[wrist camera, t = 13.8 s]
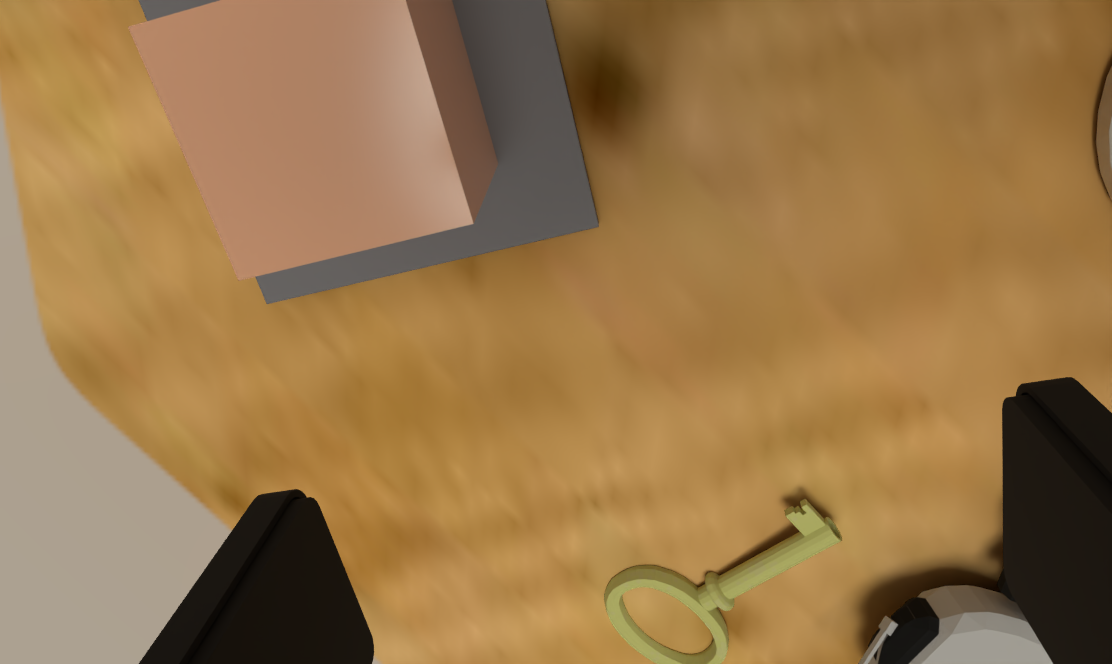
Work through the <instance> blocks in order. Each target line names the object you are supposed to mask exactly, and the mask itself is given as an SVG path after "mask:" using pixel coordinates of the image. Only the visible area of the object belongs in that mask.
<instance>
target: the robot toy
mask: <svg viewBox="0 0 1112 664" xmlns="http://www.w3.org/2000/svg"><path fill="white" fill-rule="evenodd" d="M997 585H998V587H999V589H1000V591H1001V593H1003V594H1001V593H999V592H995V591H992V590H988V589H984V588H981V587H976V586H969V585H959V586H943V587H939V588H935V589H931V590H927V591H923V592H921V594H920V595H919V596H918V597H915V598H912V599H909V600H908V601H907V602H906V603H905V604H904V605H903V606H902V607H901V608H899V609H898V610H897V611H896V612H895V613H894V614H893V615H892V616H891V617H890V618H889V617H887V616H886V615H885V617H884V618H883V620H882V621H881V623H880V624H879V626H878V627H879V629H878V630H877V632H876V633H875V634H874V635H873V637H872V639H871V641H870V643H869V645H868V647H869V648H868V649H867V651H866V652H865V654H864V656H863V657H862V659H861V660H860V662H859V663H858V664H1053V663H1052V661H1051V659H1050V658H1049V656H1048V654H1047V653H1046V651H1045V650H1044V648H1043V646H1042V645H1041V643H1040V641H1039V640H1038V638H1037V636H1036V635H1035V633H1034V631H1033V630H1032V628H1031V626H1030V625H1029V623H1028V621H1027V620H1026V618H1025V616H1024V615H1023V613H1022V611H1021V610H1020V608H1019V606H1018V605H1017V603H1016V601H1015V600H1014V598H1013V596H1012V594H1011V592H1010V590H1009V587H1008V585H1007V581H1006V578H1005V573H1004V568H1003V571H1002V573H1001V576H1000V578H999V580H998V583H997Z"/></svg>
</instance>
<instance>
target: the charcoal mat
mask: <svg viewBox="0 0 1112 664" xmlns="http://www.w3.org/2000/svg"><path fill="white" fill-rule="evenodd" d="M216 1H219V0H139V2H140V5H141V7H142V9H143V12H144V14H145V17H146V19H147V21H150V20H154V19H157V18H160V17H164V16H167V15H171V14H174V13H178V12H181V11H185V10H188V9H192V8H195V7H199V6H202V5H205V4H209V3H212V2H216ZM452 2H453V5H454V9H455V13H456V16H457V20H458V23H459V27H460V30H461V34H462V37H463V41H464V44H465V48H466V51H467V55H468V58H469V62H470V66H471V69H472V73H473V76H474V80H475V83H476V87H477V90H478V94H479V97H480V101H481V104H482V108H483V111H484V115H485V119H486V122H487V126H488V129H489V133H490V136H491V140H492V143H493V147H494V150H495V154H496V157H497V161H498V166H497V168H496V170H495V173H494V175H493V178H492V180H491V183H490V185H489V188H488V190H487V192H486V195H485V197H484V200H483V202H482V205H481V207H480V209H479V212H478V214H477V217H476V219H475V222H474V224H471V225H467V226H463V227H458V228H454V229H450V230H446V231H442V232H438V233H434V234H430V235H425V236H421V237H417V238H413V239H409V240H405V241H401V242H396V243H392V244H388V245H384V246H380V247H376V248H372V249H368V250H363V251H359V252H355V253H351V254H347V255H343V256H339V257H335V258H330V259H326V260H322V261H318V262H314V263H310V264H306V265H302V266H297V267H293V268H289V269H285V270H281V271H277V272H273V273H269V274H264V275H260V276H256V279H257V282H258V284H259V287H260V289H261V291H262V294H263V296H264V298H265V301H266V303H267V304H269V303H274V302H278V301H282V300H287V299H291V298H295V297H299V296H304V295H308V294H312V293H317V292H321V291H325V290H330V289H334V288H338V287H342V286H347V285H351V284H355V283H360V282H364V281H368V280H372V279H377V278H381V277H385V276H390V275H394V274H398V273H402V272H407V271H411V270H415V269H420V268H424V267H428V266H432V265H437V264H441V263H445V262H450V261H454V260H458V259H463V258H467V257H471V256H475V255H480V254H484V253H488V252H493V251H497V250H501V249H505V248H510V247H514V246H518V245H523V244H527V243H531V242H535V241H540V240H544V239H548V238H553V237H557V236H561V235H565V234H570V233H574V232H578V231H583V230H587V229H591V228H596V227H599V223H598V218H597V214H596V210H595V206H594V201H593V197H592V193H591V189H590V185H589V180H588V176H587V172H586V168H585V163H584V159H583V155H582V151H581V146H580V142H579V138H578V134H577V129H576V125H575V121H574V117H573V113H572V108H571V104H570V100H569V96H568V91H567V87H566V83H565V79H564V74H563V70H562V66H561V62H560V58H559V53H558V49H557V45H556V41H555V36H554V32H553V28H552V24H551V19H550V15H549V11H548V7H547V3H546V0H452Z"/></svg>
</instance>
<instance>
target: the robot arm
mask: <svg viewBox="0 0 1112 664" xmlns="http://www.w3.org/2000/svg"><path fill="white" fill-rule="evenodd" d="M1096 146H1097V153H1098V160H1099V167H1100V173H1101V176H1102V178H1103V181H1104V183H1105V186H1106V188H1107V191H1108V193H1109V196H1110V199H1111V200H1112V67H1111V69H1110V71H1109V73H1108V76H1107V78H1106V82H1105V86H1104V90H1103V94H1102V98H1101V102H1100V106H1099V110H1098V121H1097V136H1096ZM1002 439H1003V565H1004V573H1005V578H1006V581H1007V585H1008V587H1009V590H1010V592H1011V594H1012V596H1013V598H1014V600H1015V601H1016V603H1017V605H1018V606H1019V608H1020V610H1021V611H1022V613H1023V615H1024V616H1025V618H1026V620H1027V621H1028V623H1029V625H1030V626H1031V628H1032V630H1033V631H1034V633H1035V635H1036V636H1037V638H1038V640H1039V641H1040V643H1041V645H1042V646H1043V648H1044V650H1045V651H1046V653H1047V654H1048V656H1049V658H1050V659H1051V661H1052V663H1053V664H1112V413H1111V412H1110V411H1109V410H1108V409H1107V408H1106V407H1105V406H1104V405H1102V404H1101V403H1100V402H1099V401H1098V400H1097V399H1096V398H1095V397H1094V396H1093V395H1092V394H1091V393H1090V392H1089V391H1088V390H1086V389H1085V388H1084V387H1083V386H1082V385H1081V384H1080V383H1079V382H1078V381H1077V380H1075V379H1074V378H1072V377H1066V378H1059V379H1052V380H1045V381H1038V382H1031V383H1024V384H1021V385H1020V386H1019V387H1018V389H1017V392H1016V396H1015V397H1008V398H1006V399H1005V400H1004V402H1003V408H1002ZM373 656H374V644H373V638H372V635H371V632H370V630H369V627H368V625H367V622H366V620H365V617H364V615H363V612H362V610H361V608H360V605H359V603H358V600H357V598H356V595H355V593H354V590H353V588H352V585H351V583H350V580H349V578H348V576H347V573H346V571H345V568H344V566H343V563H342V561H341V558H340V556H339V553H338V551H337V548H336V546H335V543H334V541H333V539H332V536H331V534H330V531H329V529H328V526H327V524H326V521H325V519H324V516H323V514H322V511H321V509H320V507H319V505H318V503H317V501H316V500H315V499H314V498H311V497H309V498H307V497H306V495H305V494H304V493H303V492H302V491H300V490H297V489H294V490H287V491H280V492H274V493H267V494H261V495H258V496H257V497H256V498H255V499H254V500H253V502H252V503H251V504H250V506H249V507H248V509H247V510H246V512H245V513H244V514H243V516H242V517H241V519H240V520H239V522H238V523H237V524H236V526H235V527H234V529H233V530H232V532H231V533H230V534H229V536H228V537H227V539H226V540H225V542H224V543H223V544H222V546H221V547H220V549H219V550H218V552H217V553H216V554H215V556H214V557H213V559H212V560H211V562H210V563H209V564H208V566H207V567H206V569H205V570H204V572H203V573H202V574H201V576H200V577H199V579H198V580H197V581H196V583H195V584H194V586H193V587H192V589H191V590H190V591H189V593H188V594H187V596H186V597H185V599H184V600H183V602H182V603H181V604H180V606H179V607H178V609H177V610H176V612H175V613H174V614H173V616H172V617H171V619H170V620H169V621H168V623H167V624H166V626H165V627H164V629H163V630H162V631H161V633H160V634H159V636H158V637H157V638H156V640H155V641H154V643H153V644H152V646H151V647H150V649H149V650H148V651H147V653H146V654H145V656H144V657H143V658H142V660H141V661H140V663H139V664H372V661H373Z"/></svg>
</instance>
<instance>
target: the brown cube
mask: <svg viewBox="0 0 1112 664" xmlns="http://www.w3.org/2000/svg"><path fill="white" fill-rule="evenodd" d="M128 28H129V30H130V33H131V35H132V37H133V40H134V42H135V44H136V46H137V49H138V51H139V53H140V56H141V58H142V60H143V63H144V65H145V67H146V69H147V72H148V74H149V76H150V79H151V81H152V83H153V85H154V88H155V90H156V92H157V95H158V97H159V99H160V101H161V104H162V106H163V108H164V111H165V113H166V115H167V118H168V120H169V122H170V124H171V127H172V129H173V131H174V134H175V136H176V138H177V140H178V143H179V145H180V147H181V150H182V152H183V154H184V157H185V159H186V161H187V163H188V166H189V168H190V170H191V173H192V175H193V177H194V179H195V182H196V184H197V186H198V189H199V191H200V193H201V195H202V198H203V200H204V202H205V205H206V207H207V209H208V212H209V214H210V216H211V218H212V221H213V223H214V225H215V228H216V230H217V232H218V234H219V237H220V239H221V241H222V244H223V246H224V248H225V250H226V253H227V255H228V257H229V260H230V262H231V264H232V267H233V269H234V271H235V273H236V276H237V278H238V280H239V281H240V280H244V279H248V278H252V277H256V276H260V275H264V274H269V273H273V272H277V271H281V270H285V269H289V268H293V267H297V266H302V265H306V264H310V263H314V262H318V261H322V260H326V259H330V258H335V257H339V256H343V255H347V254H351V253H355V252H359V251H363V250H368V249H372V248H376V247H380V246H384V245H388V244H392V243H396V242H401V241H405V240H409V239H413V238H417V237H421V236H425V235H430V234H434V233H438V232H442V231H446V230H450V229H454V228H458V227H463V226H467V225H471V224H474V222H475V219H476V217H477V214H478V212H479V209H480V207H481V205H482V202H483V200H484V197H485V195H486V192H487V190H488V188H489V185H490V183H491V180H492V178H493V175H494V173H495V170H496V168H497V166H498V161H497V157H496V154H495V150H494V147H493V143H492V140H491V136H490V133H489V129H488V126H487V122H486V119H485V115H484V111H483V108H482V104H481V101H480V97H479V94H478V90H477V87H476V83H475V80H474V76H473V73H472V69H471V66H470V62H469V58H468V55H467V51H466V48H465V44H464V41H463V37H462V34H461V30H460V27H459V23H458V20H457V16H456V13H455V9H454V5H453V2H452V0H219V1H216V2H212V3H209V4H205V5H202V6H199V7H195V8H192V9H188V10H185V11H181V12H178V13H174V14H171V15H167V16H164V17H160V18H157V19H154V20H150V21H147V22H143V23H140V24H136V25H133V26H129V27H128Z"/></svg>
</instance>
